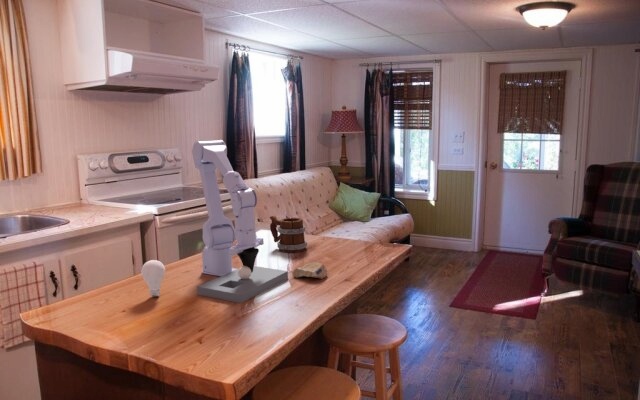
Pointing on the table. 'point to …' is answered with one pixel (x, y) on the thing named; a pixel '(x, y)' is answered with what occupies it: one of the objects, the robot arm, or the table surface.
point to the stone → (311, 270)
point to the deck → (242, 284)
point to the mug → (289, 234)
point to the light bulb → (153, 276)
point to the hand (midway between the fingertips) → (248, 272)
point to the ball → (244, 272)
